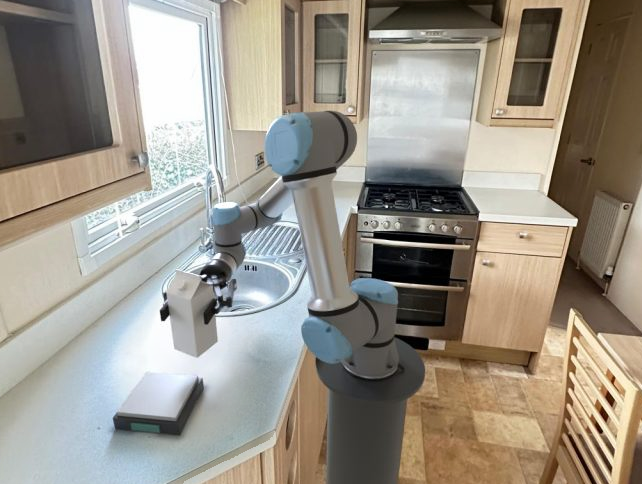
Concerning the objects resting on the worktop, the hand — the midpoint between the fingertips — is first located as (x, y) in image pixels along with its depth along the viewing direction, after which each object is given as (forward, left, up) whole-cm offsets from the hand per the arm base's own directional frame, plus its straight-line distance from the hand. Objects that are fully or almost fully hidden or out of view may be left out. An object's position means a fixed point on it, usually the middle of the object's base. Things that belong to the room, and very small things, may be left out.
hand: (183, 317), depth 87 cm
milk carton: (0, -5, -11) cm, 12 cm away
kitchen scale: (+5, +5, -20) cm, 21 cm away
